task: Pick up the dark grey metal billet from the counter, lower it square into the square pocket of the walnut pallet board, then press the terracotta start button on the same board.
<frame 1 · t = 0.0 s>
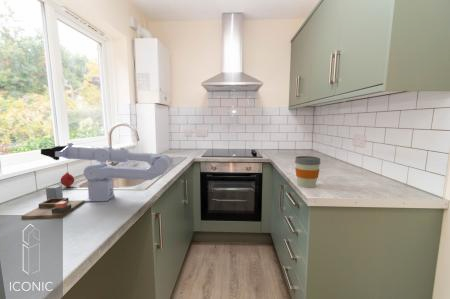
hand: (47, 150, 96), 22 cm above the countertop, tool horizontal, fingers open, 7 cm apart
start button: (61, 204, 84), point 3 cm above the countertop, slide at 0.0 cm
onion: (68, 187, 118), on the countertop
billet: (55, 200, 98), on the countertop
reusable coffee cup: (306, 185, 121), on the countertop
pallet: (56, 209, 87), on the countertop
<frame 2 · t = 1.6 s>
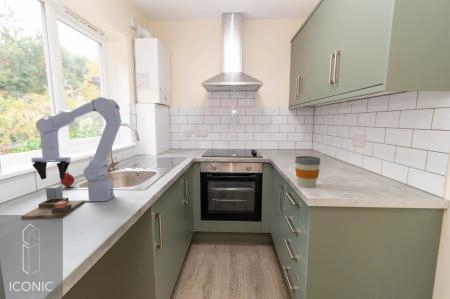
hand: (53, 178, 97), 9 cm above the countertop, tool pointing down, fingers open, 7 cm apart
nothing on the countertop moved.
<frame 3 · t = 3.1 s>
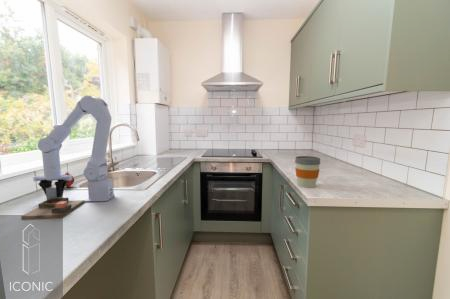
hand: (54, 196, 98), 1 cm above the countertop, tool pointing down, fingers closed on billet, 4 cm apart
billet: (55, 199, 98), on the countertop, touching gripper
everything else where it was.
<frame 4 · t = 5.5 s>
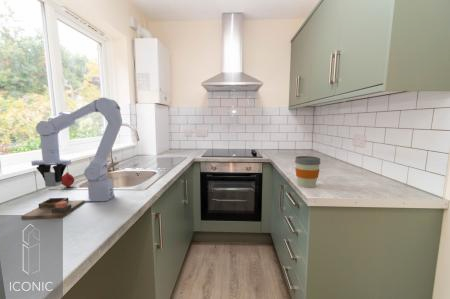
hand: (53, 181, 96), 8 cm above the countertop, tool pointing down, fingers closed on billet, 4 cm apart
billet: (53, 185, 96), point 7 cm above the countertop, touching gripper
everything else where it was.
when the fingers open (3 cm above the countertop, at t = 7.7 s): billet stays where it is, resting on pallet.
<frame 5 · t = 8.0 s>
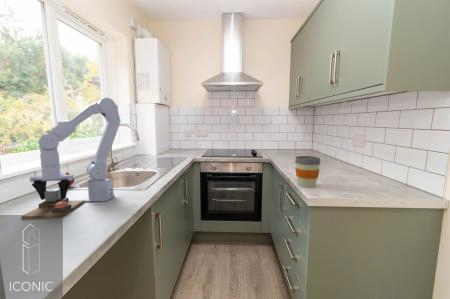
hand: (53, 198, 90), 3 cm above the countertop, tool pointing down, fingers open, 7 cm apart
billet: (54, 204, 90), point 1 cm above the countertop, touching pallet
everything else where it was.
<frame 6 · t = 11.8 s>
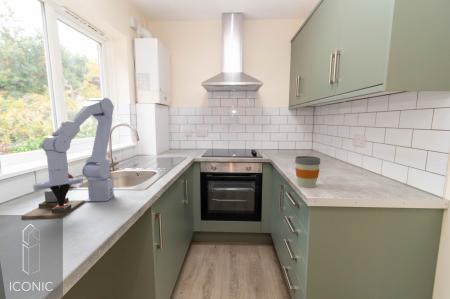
hand: (61, 205, 84), 3 cm above the countertop, tool pointing down, fingers closed, pressing on start button
start button: (61, 207, 84), point 2 cm above the countertop, slide at 1.0 cm, touching gripper
everything else where it was.
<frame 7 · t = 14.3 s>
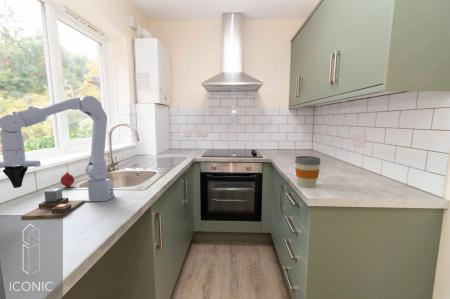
hand: (17, 187, 81), 10 cm above the countertop, tool pointing down, fingers closed
start button: (61, 207, 84), point 2 cm above the countertop, slide at 1.0 cm
everything else where it was.
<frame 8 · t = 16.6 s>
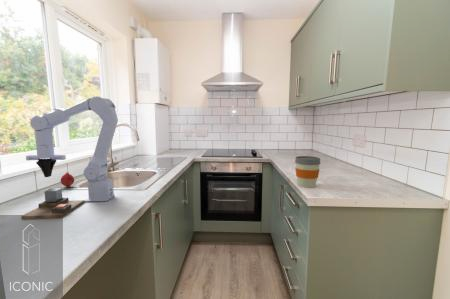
hand: (48, 176, 97), 10 cm above the countertop, tool pointing down, fingers closed
nothing on the countertop moved.
at the end: billet 0.1 cm from the target spot on the pallet, point 1.0 cm above the pallet's base; billet tilted 0°; start button slide at 1.0 cm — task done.
